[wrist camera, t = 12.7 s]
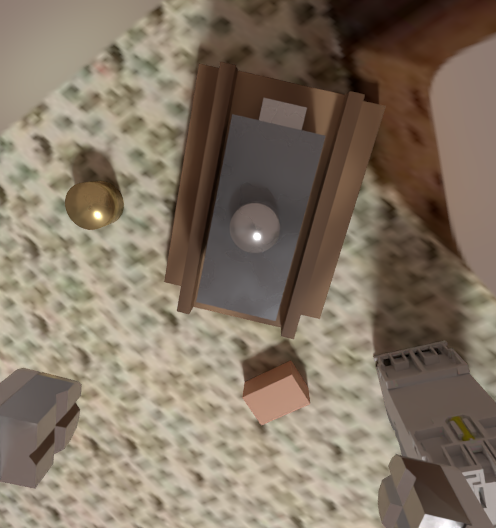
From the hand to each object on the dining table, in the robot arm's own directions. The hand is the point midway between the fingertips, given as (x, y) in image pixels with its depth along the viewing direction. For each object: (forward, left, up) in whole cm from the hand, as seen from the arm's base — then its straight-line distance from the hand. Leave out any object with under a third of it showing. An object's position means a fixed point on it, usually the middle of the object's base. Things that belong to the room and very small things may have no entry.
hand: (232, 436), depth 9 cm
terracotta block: (+5, -17, -28) cm, 33 cm away
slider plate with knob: (-1, +3, -19) cm, 20 cm away
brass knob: (-17, -1, -28) cm, 32 cm away
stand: (-1, +3, -27) cm, 28 cm away
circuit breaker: (+21, -15, -28) cm, 38 cm away
